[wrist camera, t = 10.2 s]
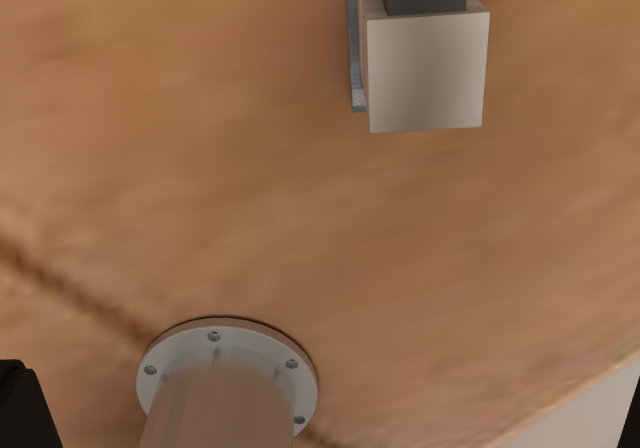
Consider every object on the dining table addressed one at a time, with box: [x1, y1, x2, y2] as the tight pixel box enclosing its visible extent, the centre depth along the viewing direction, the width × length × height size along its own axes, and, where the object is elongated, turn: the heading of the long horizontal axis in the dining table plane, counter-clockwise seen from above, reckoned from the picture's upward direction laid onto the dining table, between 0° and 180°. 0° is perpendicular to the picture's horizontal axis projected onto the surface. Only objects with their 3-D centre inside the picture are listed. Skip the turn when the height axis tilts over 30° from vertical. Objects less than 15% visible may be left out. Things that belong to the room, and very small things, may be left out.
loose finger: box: [358, 0, 490, 133], centre depth 24 cm, size 4×5×8 cm
